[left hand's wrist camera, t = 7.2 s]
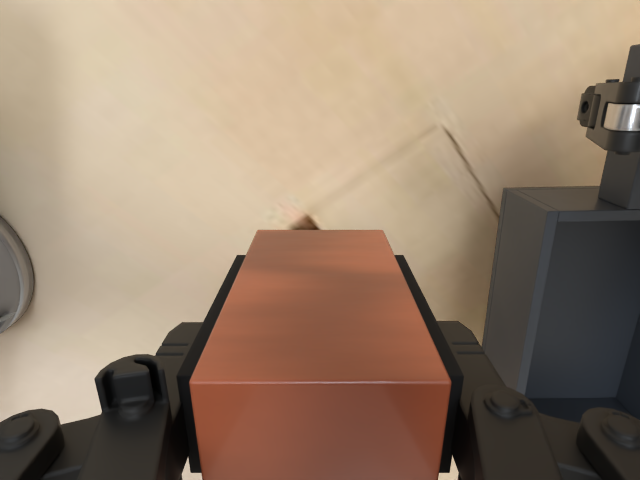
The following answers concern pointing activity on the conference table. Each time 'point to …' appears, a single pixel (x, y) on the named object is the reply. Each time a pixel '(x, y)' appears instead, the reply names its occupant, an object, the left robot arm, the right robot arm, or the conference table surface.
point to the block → (320, 367)
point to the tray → (570, 291)
